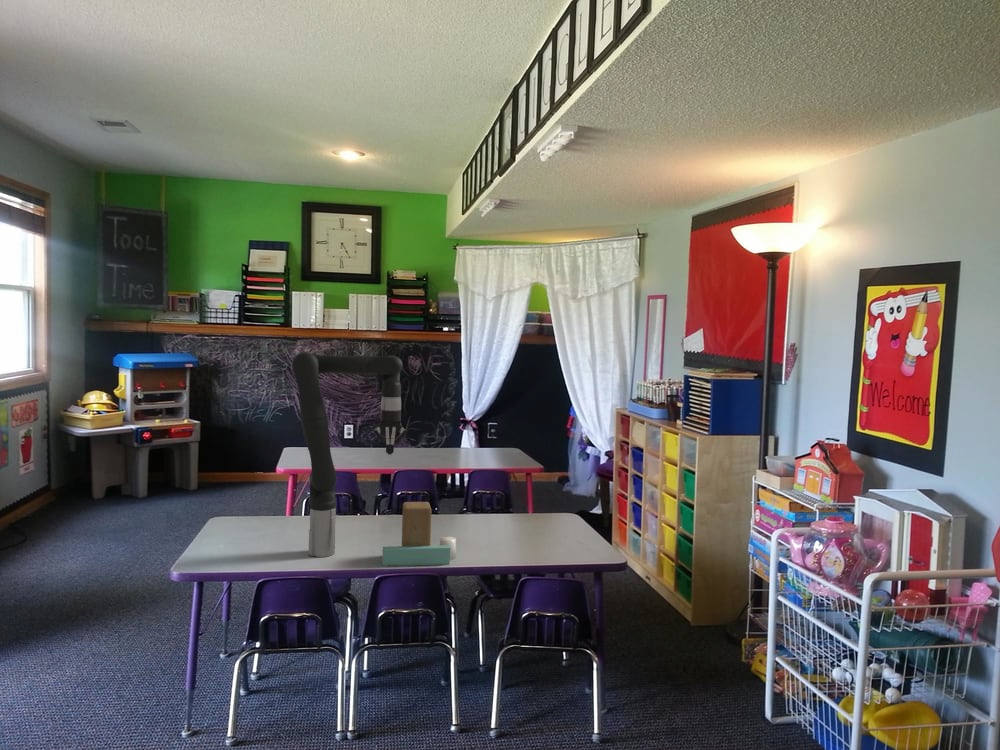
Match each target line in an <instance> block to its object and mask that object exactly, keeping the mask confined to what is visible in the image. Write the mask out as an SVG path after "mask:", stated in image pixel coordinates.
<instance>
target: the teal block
mask: <svg viewBox="0 0 1000 750" xmlns="http://www.w3.org/2000/svg"><path fill="white" fill-rule="evenodd" d="M381 563H382V564H383V565H382V567H384V566H385V567H386V566H388V565H398V566H427V565H429V566H432V565H433V566H435V565H450V563H451V560H450V546H449V545H444V546H440V545H430V546H402V545H400V546H399V545H398V546H397V545H396V546H395V545H394V546H382V561H381Z"/></svg>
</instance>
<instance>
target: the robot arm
mask: <svg viewBox="0 0 1000 750" xmlns="http://www.w3.org/2000/svg"><path fill="white" fill-rule="evenodd" d="M403 366H404V365H403V361H402V359H401V358H400V357H398V356H396V355H387V356H385V355H383V356H376V355H375V356H374V355H339V356H338V355H322V354H315V353H311V352H307V351H303V352H302V351H301V352H299V353H297V354H296V355H295V356H294V357H293V358H292V361H291V369H292V372H293V375H294V378H295V382H296V385H297V388H298V389H297V390H298V395H299V413H300V415H299V416H300V421H301V422H300V423H301V428H302V433H303V438H304V441H305V444H306V447H307V450H308V452H309V457H310V466H311V471H310V474H309V508H310V509H309V529H308V556H309V555H310V556H309V557H311V556H312V557H315V556H316V557H317V558H323V557H324V558H325V557H330V556H333V555H335V553H336V552H335V551H336V518H337V517H336V516H337V515H336V512H337V510H336V509H337V499H336V498H337V497H336V485H337V482H338V474H337V472H336V468H335V465H334V462H333V461H334V460H333V458H332V452H331V438H330V428H329V422H328V421H329V420H328V415H327V410H326V407H325V403H324V400H323V396H322V394H321V393H322V392H321V389H320V388H321V387H320V377H319V374H331V373H332V374H345V375H346V374H347V375H381V377H382V386H381V401H380V422H379V425H378V427H377V428H375V429H373V433H374V434H375V436H376V437H377V438H378V440H379V441H380V442H381V443H383V444H384V445H385V453H386V454H387V455H391V456H392V455H393V453H394V452H395V451H394V449H395V447H394V446H395V445H396V444H399V443H400V441H401V440H402V439H403V438H404V437H405V436H406V434H407V433H408V430H407V429H405V428H404V427H403V425H402V424H403V423H402V422H401V421H402V398H401V396H402V385H401V384H402V383H401V381H400V380H401V379H400V378H401V371H402V369H403ZM381 432H382V434H383V435H384V436H385V438H384V437H383V436H382V435H381ZM399 432H400V434H399V435H398V436H397V438H396V435H397V434H398V433H399ZM390 437H391V438H390ZM395 438H396V439H395Z"/></svg>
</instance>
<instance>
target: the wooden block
mask: <svg viewBox="0 0 1000 750" xmlns="http://www.w3.org/2000/svg"><path fill="white" fill-rule="evenodd" d="M401 521H402V522H401V523H402V524H401V546H431V537H432V508H431V505H430V502H429V501H405V502H403V503H402V520H401Z"/></svg>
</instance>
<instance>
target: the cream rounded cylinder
mask: <svg viewBox="0 0 1000 750" xmlns="http://www.w3.org/2000/svg"><path fill="white" fill-rule="evenodd" d="M444 545H449V546H450V561H451V560H452V561H453V560H455V559H456V558H457V552H456V551H457V538H456V537H453V536H443V537H440V538H439V546H444Z"/></svg>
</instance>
